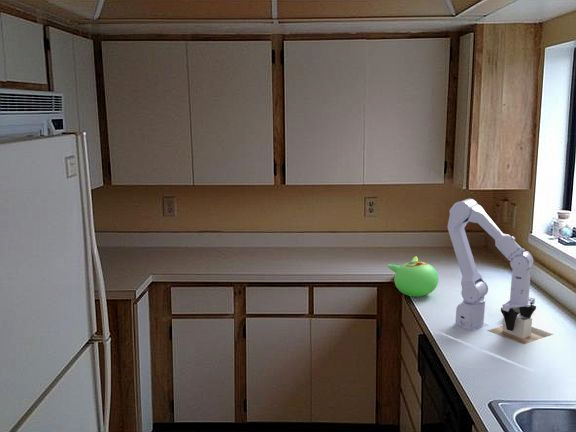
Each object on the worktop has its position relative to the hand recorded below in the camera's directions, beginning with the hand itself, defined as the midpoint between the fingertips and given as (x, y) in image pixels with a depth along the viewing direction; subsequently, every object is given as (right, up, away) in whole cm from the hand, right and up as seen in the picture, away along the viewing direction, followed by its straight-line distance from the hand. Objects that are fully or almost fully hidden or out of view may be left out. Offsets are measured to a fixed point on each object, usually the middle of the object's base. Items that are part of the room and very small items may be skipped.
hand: (517, 327), depth 199 cm
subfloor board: (+2, -2, +2) cm, 3 cm away
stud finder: (0, -2, 0) cm, 2 cm away
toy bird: (-25, +5, +43) cm, 50 cm away
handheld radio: (+9, +1, +23) cm, 24 cm away
